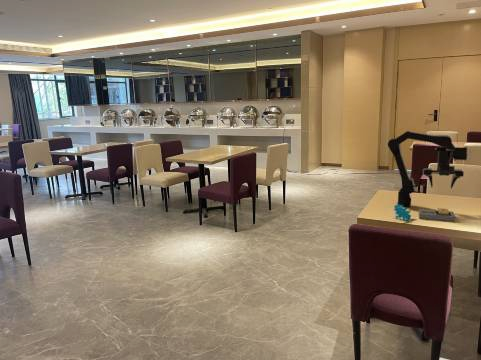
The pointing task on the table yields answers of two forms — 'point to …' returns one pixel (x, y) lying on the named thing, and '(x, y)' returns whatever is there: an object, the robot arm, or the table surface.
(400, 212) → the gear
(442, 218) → the panel
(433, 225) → the table surface
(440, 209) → the wooden block
